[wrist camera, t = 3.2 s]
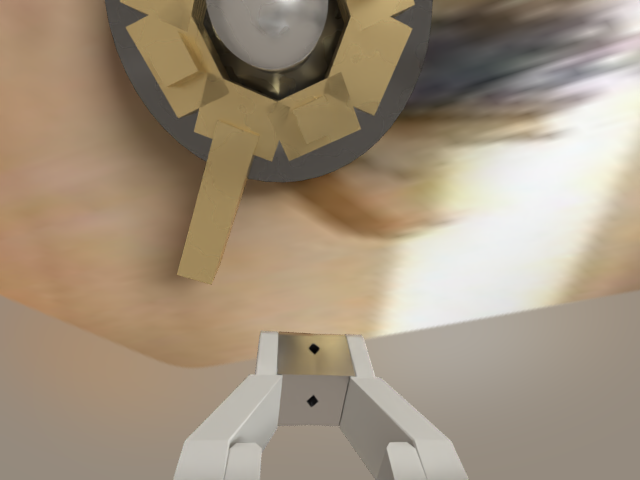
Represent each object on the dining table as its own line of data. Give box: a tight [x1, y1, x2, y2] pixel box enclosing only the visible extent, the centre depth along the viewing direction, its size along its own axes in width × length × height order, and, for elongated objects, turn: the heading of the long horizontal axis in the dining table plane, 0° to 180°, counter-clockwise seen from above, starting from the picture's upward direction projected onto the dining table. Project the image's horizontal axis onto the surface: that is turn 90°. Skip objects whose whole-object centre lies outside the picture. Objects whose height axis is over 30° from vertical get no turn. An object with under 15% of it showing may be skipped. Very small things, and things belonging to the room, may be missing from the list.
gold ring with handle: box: [120, 0, 415, 285], centre depth 16 cm, size 20×12×3 cm, turn 158°
